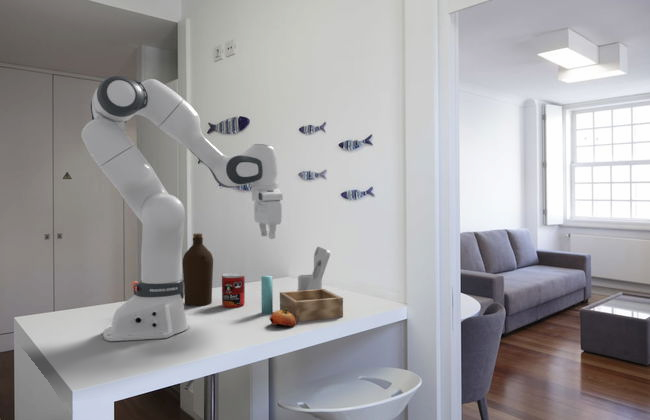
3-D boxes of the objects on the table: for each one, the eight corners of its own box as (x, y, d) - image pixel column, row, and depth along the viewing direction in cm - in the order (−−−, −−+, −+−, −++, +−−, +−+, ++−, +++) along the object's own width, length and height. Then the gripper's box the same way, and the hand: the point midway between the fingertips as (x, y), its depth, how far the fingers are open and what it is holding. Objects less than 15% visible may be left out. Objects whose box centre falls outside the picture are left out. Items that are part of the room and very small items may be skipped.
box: (295, 321, 143) (295, 302, 142) (279, 310, 157) (279, 292, 157) (343, 316, 149) (343, 297, 149) (323, 305, 163) (323, 288, 163)
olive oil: (219, 301, 170) (219, 233, 169) (200, 308, 160) (200, 235, 160) (196, 299, 174) (195, 232, 174) (176, 305, 165) (175, 234, 164)
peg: (263, 314, 151) (263, 277, 151) (260, 312, 154) (260, 276, 154) (273, 313, 153) (273, 277, 152) (270, 311, 156) (270, 275, 156)
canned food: (218, 307, 161) (218, 275, 161) (228, 302, 169) (228, 272, 169) (238, 308, 159) (238, 276, 159) (248, 303, 167) (247, 272, 167)
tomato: (290, 325, 133) (277, 304, 136) (273, 340, 135) (260, 319, 137) (303, 323, 140) (290, 303, 143) (287, 336, 142) (274, 316, 145)
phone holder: (296, 290, 190) (296, 246, 190) (320, 289, 193) (320, 245, 193) (305, 299, 174) (305, 251, 173) (332, 298, 176) (332, 250, 176)
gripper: (248, 195, 160) (250, 235, 160) (264, 195, 141) (266, 240, 141) (266, 194, 162) (268, 234, 163) (284, 194, 143) (286, 239, 144)
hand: (267, 237), depth 152 cm, fingers open, 8 cm apart
